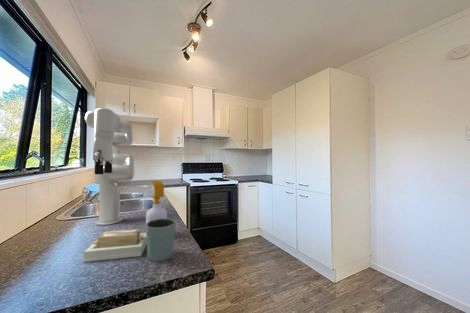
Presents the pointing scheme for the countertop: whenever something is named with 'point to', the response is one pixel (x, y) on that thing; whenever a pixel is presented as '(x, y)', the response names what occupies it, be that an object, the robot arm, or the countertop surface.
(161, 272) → the countertop surface
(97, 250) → the cream rectangular tray
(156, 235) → the teal embossed pot
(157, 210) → the soap bottle
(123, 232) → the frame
